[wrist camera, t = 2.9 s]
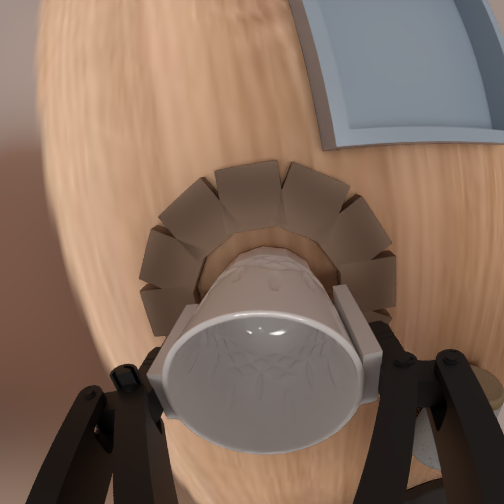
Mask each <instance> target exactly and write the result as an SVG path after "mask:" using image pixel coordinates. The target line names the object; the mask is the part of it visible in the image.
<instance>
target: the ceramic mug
mask: <svg viewBox="0 0 504 504" xmlns="http://www.w3.org/2000/svg"><path fill="white" fill-rule="evenodd" d="M470 366H471V368H472V370H473V372H474V374H475V375H476V377H477V379H478V381H479V383H480V385H481V387H482V389H483V391H484V393H485V395H486V397H487V399H488V401H489V403H490V405H491V407H492V409H493V412H494V414H495V416H496V418H497V416H498V414H499V412H500V410H501V407H502V405H503V402H504V389H503V386H502V384H501V383H500V381H499V380H498V379H497V378H496V377H495V376H494V375H493V374H491V373H490V372H488V371H487V370H484V369H482V368H480V367H477V366H473V365H470ZM412 454H413V455H414V456H415V458H416V459H417V460H419V461H420V462H421V463H423V464H424V465H426V466H428V467H430V468H433V469H437V470H441V468H440V463H439V459H438V454H437V450H436V446H435V441H434V437H433V433H432V430H431V426H430V422H429V418H428V415H427V411H426V408H423V409H422V410H421V412H420V413H419V415H418V416H417V418H416V422H415V433H414V443H413V451H412Z"/></svg>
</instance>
